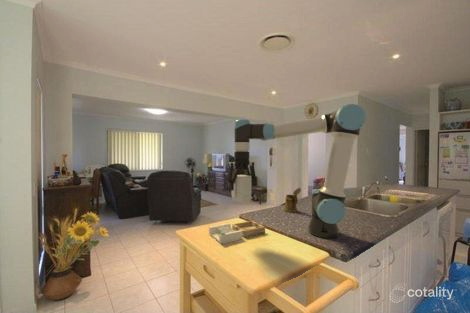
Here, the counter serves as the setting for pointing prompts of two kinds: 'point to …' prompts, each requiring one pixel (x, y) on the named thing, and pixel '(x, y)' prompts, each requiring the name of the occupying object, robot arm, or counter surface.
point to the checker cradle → (225, 234)
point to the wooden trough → (249, 228)
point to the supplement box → (242, 188)
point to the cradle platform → (224, 229)
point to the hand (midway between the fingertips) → (241, 195)
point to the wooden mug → (292, 201)
